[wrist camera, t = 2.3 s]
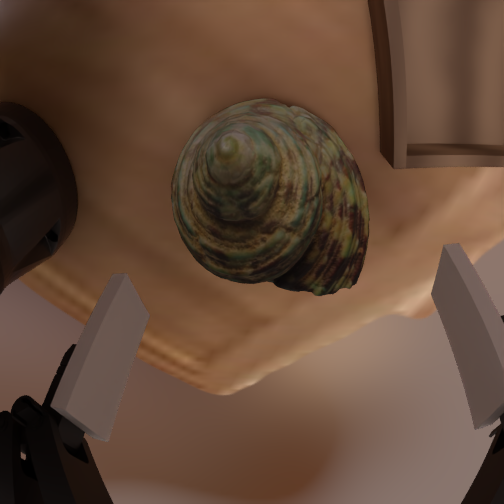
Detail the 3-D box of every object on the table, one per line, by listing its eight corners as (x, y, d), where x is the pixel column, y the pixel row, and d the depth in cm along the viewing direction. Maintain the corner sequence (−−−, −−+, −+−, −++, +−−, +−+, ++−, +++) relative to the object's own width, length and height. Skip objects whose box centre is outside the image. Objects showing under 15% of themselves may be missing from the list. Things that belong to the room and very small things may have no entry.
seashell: (210, 242, 25) (182, 351, 17) (186, 93, 17) (114, 150, 10) (348, 240, 24) (376, 350, 16) (360, 88, 16) (433, 141, 9)
